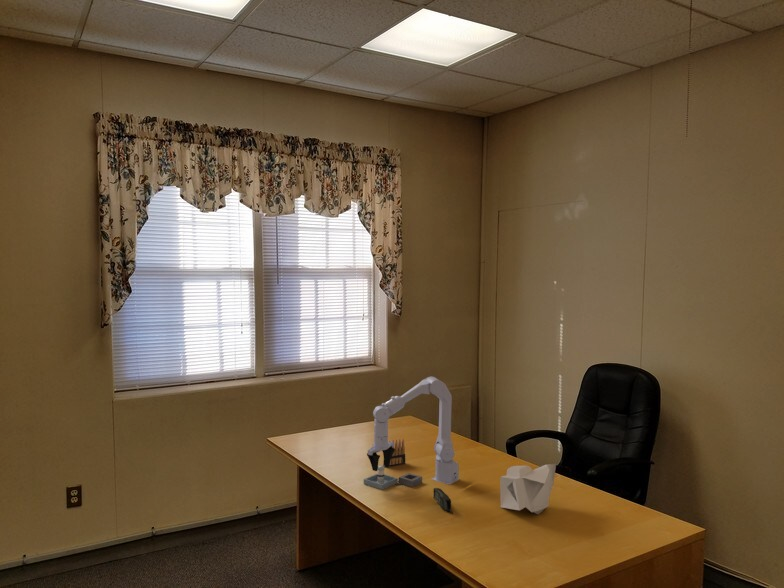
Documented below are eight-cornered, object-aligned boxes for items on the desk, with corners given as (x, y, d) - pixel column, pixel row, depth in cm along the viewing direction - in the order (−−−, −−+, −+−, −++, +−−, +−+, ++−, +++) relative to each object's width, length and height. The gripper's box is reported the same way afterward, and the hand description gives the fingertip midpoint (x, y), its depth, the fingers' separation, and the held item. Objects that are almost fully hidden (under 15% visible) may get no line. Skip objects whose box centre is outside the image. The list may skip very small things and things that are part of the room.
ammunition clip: (403, 463, 268) (403, 438, 267) (405, 464, 266) (405, 439, 266) (383, 467, 263) (383, 441, 262) (385, 468, 261) (385, 442, 260)
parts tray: (397, 484, 242) (397, 478, 242) (382, 491, 234) (382, 484, 234) (379, 478, 248) (379, 472, 248) (363, 485, 241) (363, 479, 241)
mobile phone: (432, 487, 227) (447, 500, 212) (439, 486, 227) (455, 499, 213) (432, 499, 227) (447, 514, 212) (439, 499, 228) (455, 513, 213)
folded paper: (496, 463, 217) (532, 481, 203) (540, 452, 231) (576, 468, 217) (493, 507, 219) (528, 527, 205) (536, 494, 233) (571, 512, 219)
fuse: (385, 483, 242) (385, 466, 241) (381, 485, 239) (381, 468, 239) (380, 481, 243) (380, 464, 243) (375, 483, 241) (375, 466, 241)
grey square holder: (422, 483, 243) (422, 476, 243) (412, 488, 237) (412, 481, 237) (408, 479, 247) (408, 472, 247) (398, 484, 242) (398, 477, 242)
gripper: (384, 430, 249) (384, 461, 249) (362, 437, 237) (362, 470, 238) (397, 433, 244) (397, 465, 245) (375, 440, 233) (375, 474, 234)
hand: (380, 468), depth 241 cm, fingers open, 7 cm apart
